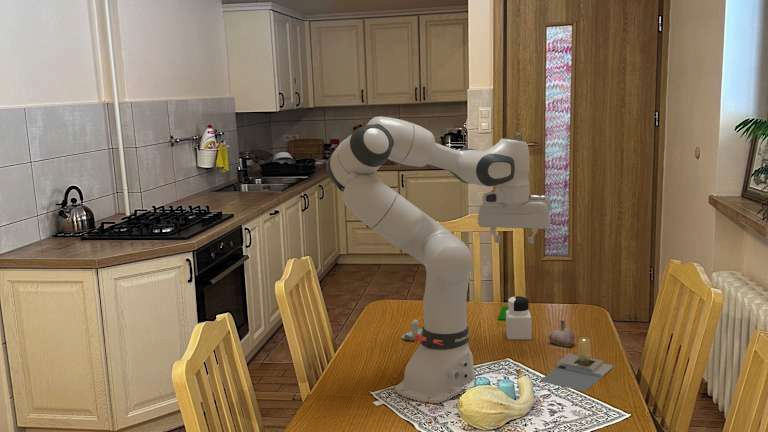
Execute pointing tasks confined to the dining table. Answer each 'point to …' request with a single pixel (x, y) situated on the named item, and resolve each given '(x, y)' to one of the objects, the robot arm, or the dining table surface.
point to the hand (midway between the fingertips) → (513, 242)
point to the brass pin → (584, 351)
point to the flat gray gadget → (594, 369)
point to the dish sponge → (502, 316)
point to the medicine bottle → (518, 319)
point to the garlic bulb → (562, 336)
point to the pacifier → (413, 331)
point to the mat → (571, 379)
